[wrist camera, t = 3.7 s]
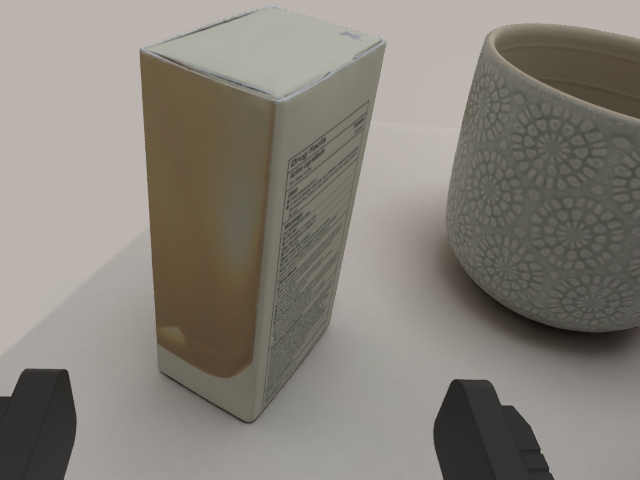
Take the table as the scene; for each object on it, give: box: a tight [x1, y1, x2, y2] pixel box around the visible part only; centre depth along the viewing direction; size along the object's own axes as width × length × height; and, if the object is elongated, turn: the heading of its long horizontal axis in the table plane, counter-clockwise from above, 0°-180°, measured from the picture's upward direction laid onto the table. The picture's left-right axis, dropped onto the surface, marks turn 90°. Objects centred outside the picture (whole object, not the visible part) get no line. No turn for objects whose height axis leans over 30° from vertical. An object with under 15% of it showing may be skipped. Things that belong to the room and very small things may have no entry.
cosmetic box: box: [140, 5, 386, 422], centre depth 19 cm, size 6×4×12 cm
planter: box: [446, 23, 640, 332], centre depth 26 cm, size 12×12×11 cm
